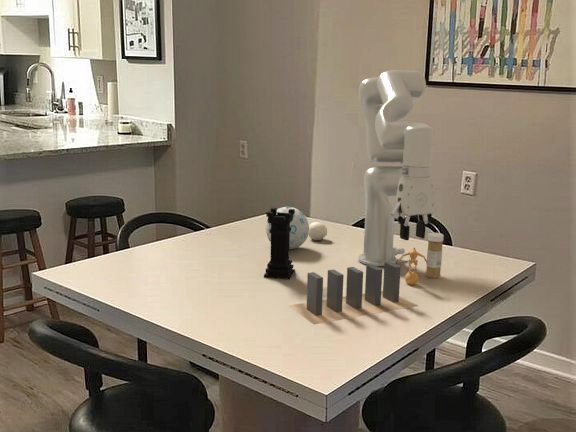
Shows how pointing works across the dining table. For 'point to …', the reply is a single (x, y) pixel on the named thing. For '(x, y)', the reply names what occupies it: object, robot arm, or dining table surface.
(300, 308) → the cork mat
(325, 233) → the cream round ball
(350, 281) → the domino
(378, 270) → the domino
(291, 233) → the puzzle ball
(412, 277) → the figurine
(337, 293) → the domino
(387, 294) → the domino
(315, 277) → the domino
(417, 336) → the dining table surface
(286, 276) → the chess piece
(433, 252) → the sprinkles bottle
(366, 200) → the robot arm
